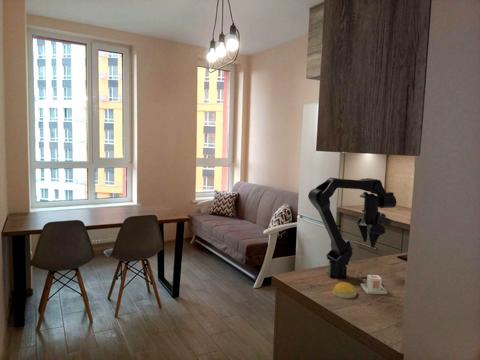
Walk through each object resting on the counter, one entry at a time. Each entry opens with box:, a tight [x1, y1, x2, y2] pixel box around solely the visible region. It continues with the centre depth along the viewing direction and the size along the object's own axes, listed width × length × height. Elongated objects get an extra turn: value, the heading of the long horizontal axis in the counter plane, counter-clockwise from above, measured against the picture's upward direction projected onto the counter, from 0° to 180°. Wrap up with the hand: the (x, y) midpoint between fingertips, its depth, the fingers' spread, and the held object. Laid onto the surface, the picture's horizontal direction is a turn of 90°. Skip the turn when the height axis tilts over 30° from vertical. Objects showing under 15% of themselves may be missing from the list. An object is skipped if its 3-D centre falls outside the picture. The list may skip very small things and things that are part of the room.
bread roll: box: [332, 281, 357, 299], centre depth 131 cm, size 8×9×4 cm
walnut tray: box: [357, 275, 384, 287], centre depth 143 cm, size 7×7×1 cm
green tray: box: [360, 282, 388, 295], centre depth 135 cm, size 7×7×1 cm
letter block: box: [366, 274, 383, 291], centre depth 135 cm, size 4×4×5 cm
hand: (368, 244), depth 151 cm, fingers open, 9 cm apart
